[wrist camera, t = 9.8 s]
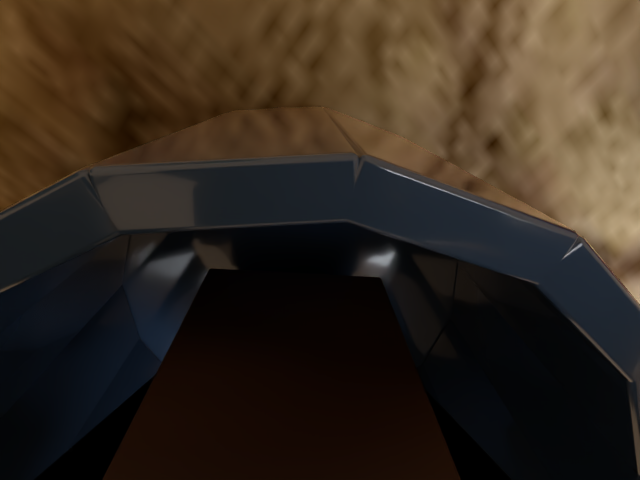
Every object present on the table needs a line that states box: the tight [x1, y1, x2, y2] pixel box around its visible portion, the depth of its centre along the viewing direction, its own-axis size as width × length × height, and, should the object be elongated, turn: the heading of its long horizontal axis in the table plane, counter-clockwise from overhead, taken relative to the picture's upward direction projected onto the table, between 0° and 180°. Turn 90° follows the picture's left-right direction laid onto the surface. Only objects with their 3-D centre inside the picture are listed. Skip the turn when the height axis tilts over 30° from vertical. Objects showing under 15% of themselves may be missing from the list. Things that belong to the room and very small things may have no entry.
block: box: [102, 268, 461, 480], centre depth 6 cm, size 4×4×5 cm
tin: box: [0, 106, 640, 480], centre depth 8 cm, size 11×11×6 cm
